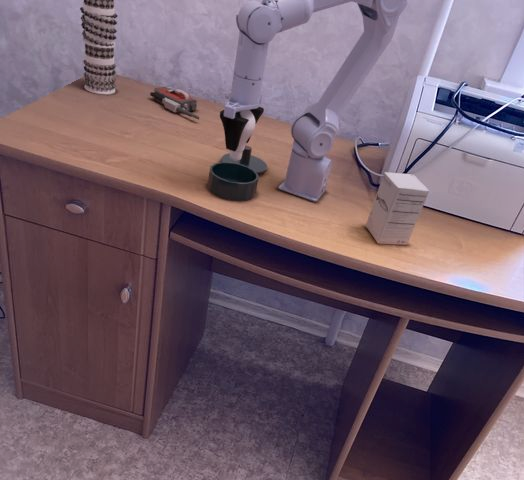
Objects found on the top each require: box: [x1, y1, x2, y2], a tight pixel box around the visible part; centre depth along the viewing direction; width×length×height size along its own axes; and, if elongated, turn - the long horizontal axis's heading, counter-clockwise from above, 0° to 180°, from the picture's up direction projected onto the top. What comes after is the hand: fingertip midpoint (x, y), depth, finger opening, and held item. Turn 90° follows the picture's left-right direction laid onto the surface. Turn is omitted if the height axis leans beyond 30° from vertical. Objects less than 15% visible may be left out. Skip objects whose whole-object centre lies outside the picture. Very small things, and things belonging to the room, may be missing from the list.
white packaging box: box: [365, 171, 430, 246], centre depth 109 cm, size 7×7×13 cm
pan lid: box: [220, 145, 268, 175], centre depth 125 cm, size 11×11×5 cm
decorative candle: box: [79, 0, 118, 95], centre depth 141 cm, size 9×9×25 cm
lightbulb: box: [229, 110, 257, 162], centre depth 109 cm, size 6×6×11 cm
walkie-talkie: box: [149, 86, 200, 121], centre depth 148 cm, size 9×4×20 cm
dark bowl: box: [207, 161, 259, 202], centre depth 115 cm, size 11×11×4 cm
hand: (237, 145), depth 110 cm, fingers closed on lightbulb, 6 cm apart
